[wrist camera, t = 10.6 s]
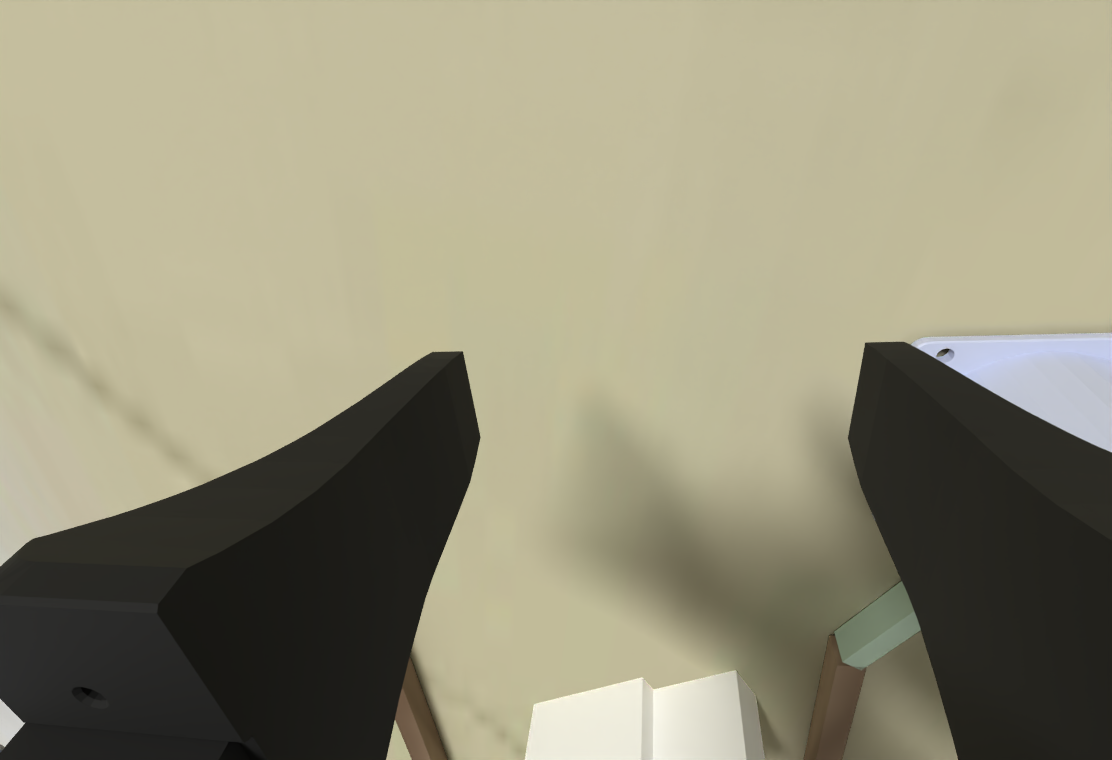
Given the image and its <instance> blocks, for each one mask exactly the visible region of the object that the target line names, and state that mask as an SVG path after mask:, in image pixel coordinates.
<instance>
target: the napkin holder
mask: <svg viewBox="0 0 1112 760" xmlns="http://www.w3.org/2000/svg"><path fill="white" fill-rule="evenodd" d="M525 760H765V756H764V749H763V742H762V734H761V727H760V720H759V713H758V706H757V699H756V695H755V694H754V693H753V691H752V690H751V689H750V688H749V686H748V685H747V684H746V682H745V681H744V680H743V678H742V677H741V676H740V675H739V673H738V672H737V671H736V670H734V671H730V672H726V673H722V674H717V675H713V676H709V677H705V678H700V679H696V680H692V681H688V682H684V683H679V684H675V685H671V686H667V687H662V688H658V689H654V690H653V688H652V687H651V686H650V685H649V684H648V683H647V682H646V681H645V679H644V678H643V677H642V678H638V679H634V680H630V681H626V682H622V683H618V684H614V685H610V686H606V687H602V688H598V689H593V690H589V691H585V692H581V693H577V694H573V695H569V696H565V697H561V698H557V699H553V700H549V701H545V702H541V703H537V704H534V708H533V714H532V720H531V726H530V732H529V738H528V743H527V749H526V755H525Z"/></svg>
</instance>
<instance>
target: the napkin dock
mask: <svg viewBox="0 0 1112 760" xmlns="http://www.w3.org/2000/svg"><path fill="white" fill-rule="evenodd" d="M920 630H921V629H920V626H919V623H918V620H917V617H916V614H915V612H914V609H913V607H912V604H911V601H910V599H909V596H908V594H907V592H906V589H905V587H904V585H903V582H902V581H901V582H899V583H898V584H897V585H895V586H894V587H893V588H891V589H890V590H889V591H888V592H886V593H885V594H884V595H882V596H881V597H880V598H878V599H877V600H876V601H874V602H873V603H872V604H870V605H869V606H868V607H866V608H865V609H864V610H862V611H861V612H860V613H858V614H857V615H856V616H854V617H853V618H852V619H850V620H849V621H848V622H846V623H845V624H844V625H842V626H841V627H840V628H838V629H837V630H836V631H834V633H835V635H829V639H828V643H827V648H826V653H825V658H824V663H823V668H822V673H821V677H820V682H819V687H818V692H817V697H816V702H815V707H814V711H813V716H812V721H811V726H810V731H809V736H808V741H807V745H806V750H805V755H804V760H842V758H843V754H844V750H845V746H846V743H847V739H848V735H849V731H850V728H851V724H852V720H853V716H854V713H855V709H856V705H857V701H858V698H859V694H860V690H861V687H862V683H863V679H864V675H865V672H866V668H867V666H869V665H870V664H872V663H873V662H875V661H876V660H878V659H879V658H881V657H882V656H884V655H885V654H886V653H888V652H889V651H891V650H892V649H894V648H895V647H897V646H898V645H900V644H901V643H903V642H904V641H906V640H907V639H909V638H910V637H911V636H913V635H914V634H916V633H917V632H919V631H920ZM395 720H396V723H397V725H398V727H399V730H400V732H401V734H402V737H403V739H404V742H405V744H406V746H407V749H408V751H409V753H410V756H411V758H412V760H448V759H447V757H446V754H445V751H444V748H443V746H442V743H441V740H440V737H439V735H438V732H437V729H436V726H435V724H434V721H433V718H432V715H431V713H430V710H429V707H428V704H427V702H426V699H425V696H424V693H423V691H422V688H421V685H420V682H419V680H418V677H417V674H416V671H415V669H414V666H413V663H412V661H411V658H409V662H408V666H407V670H406V674H405V678H404V682H403V686H402V690H401V694H400V698H399V702H398V707H397V712H396V716H395Z"/></svg>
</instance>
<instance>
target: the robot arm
mask: <svg viewBox="0 0 1112 760" xmlns="http://www.w3.org/2000/svg"><path fill="white" fill-rule="evenodd" d="M947 348H948V349H949V351H948V353H947V354H945V355H944V356H940V357H937V356H936V355H937V353H938V352H939V351H941V350H942V349H947ZM848 440H849V444H850V448H851V452H852V456H853V460H854V464H855V468H856V471H857V475H858V478H859V482H860V485H861V488H862V490H863V493H864V495H865V498H866V500H867V502H868V505H869V507H870V509H871V512H872V515H873V518H874V520H875V521H876V523H877V526H878V528H879V530H880V532H881V535H882V537H883V539H884V542H885V544H886V546H887V548H888V551H889V553H890V555H891V557H892V560H893V562H894V564H895V567H896V569H897V571H898V573H899V576H900V578H901V580H902V582H903V585H904V587H905V589H906V592H907V594H908V596H909V599H910V601H911V604H912V607H913V609H914V612H915V614H916V617H917V620H918V623H919V626H920V629H921V632H922V635H923V639H924V642H925V645H926V648H927V652H928V655H929V658H930V661H931V664H932V668H933V671H934V674H935V677H936V681H937V684H938V688H939V691H940V695H941V698H942V702H943V706H944V709H945V713H946V716H947V720H948V723H949V727H950V730H951V734H952V737H953V741H954V745H955V749H956V752H957V756H958V760H1112V333H1081V334H1038V335H994V336H950V337H925V338H920V339H918V340H916V341H914V342H913V343H912V344H911V345H910V344H908V343H905V342H873V343H865V348H864V353H863V359H862V364H861V370H860V375H859V381H858V386H857V392H856V397H855V403H854V408H853V414H852V419H851V425H850V430H849V435H848ZM479 442H480V433H479V428H478V423H477V418H476V413H475V408H474V404H473V399H472V394H471V389H470V384H469V379H468V374H467V370H466V365H465V360H464V355H463V351H461V352H432V353H430V354H428V355H426V356H425V357H423V358H421V359H420V360H418V361H417V362H415V363H414V364H412V365H411V366H409V367H408V368H406V369H405V370H403V371H402V372H401V373H399V374H398V375H396V376H395V377H393V378H392V379H391V380H389V381H388V382H386V383H385V384H383V385H382V386H381V387H379V388H378V389H376V390H375V391H373V392H372V393H370V394H369V395H368V396H366V397H365V398H363V399H362V400H360V401H359V402H357V403H356V404H354V405H353V406H351V407H350V408H348V409H346V410H345V411H343V412H342V413H340V414H339V415H337V416H335V417H334V418H332V419H331V420H329V421H328V422H326V423H324V424H323V425H321V426H320V427H318V428H317V429H315V430H313V431H312V432H310V433H308V434H306V435H305V436H303V437H301V438H299V439H298V440H296V441H294V442H292V443H290V444H288V445H286V446H284V447H283V448H281V449H279V450H277V451H275V452H273V453H271V454H269V455H267V456H265V457H263V458H261V459H259V460H257V461H255V462H253V463H250V464H248V465H246V466H244V467H241V468H239V469H237V470H235V471H232V472H230V473H228V474H225V475H223V476H221V477H219V478H216V479H214V480H212V481H210V482H207V483H205V484H203V485H200V486H198V487H195V488H193V489H190V490H187V491H185V492H182V493H179V494H177V495H174V496H171V497H169V498H166V499H163V500H160V501H157V502H155V503H152V504H149V505H146V506H143V507H140V508H137V509H134V510H131V511H128V512H125V513H122V514H119V515H116V516H112V517H109V518H105V519H102V520H98V521H95V522H92V523H88V524H85V525H81V526H78V527H74V528H71V529H67V530H64V531H60V532H57V533H53V534H50V535H46V536H42V537H38V538H34V539H32V540H31V541H29V542H28V543H26V544H25V545H24V546H23V547H22V548H21V549H20V550H18V551H17V552H16V553H15V554H14V555H13V556H12V557H11V558H9V559H8V560H7V561H6V562H5V563H4V564H3V565H2V566H0V699H1V700H2V701H3V702H4V703H5V704H6V705H7V706H8V707H9V708H10V709H11V710H12V711H13V712H14V713H15V714H16V715H17V716H18V717H19V718H20V719H21V720H22V721H23V722H24V723H25V724H24V725H23V727H22V728H21V729H20V730H19V731H18V732H17V734H16V735H15V736H14V737H13V738H12V739H11V741H10V742H9V743H8V744H7V745H6V747H4V746H2V745H0V760H386V757H387V752H388V748H389V743H390V739H391V734H392V730H393V725H394V721H395V716H396V712H397V707H398V702H399V698H400V694H401V690H402V686H403V682H404V678H405V674H406V670H407V666H408V662H409V658H410V653H411V649H412V645H413V642H414V638H415V634H416V631H417V627H418V623H419V620H420V616H421V612H422V609H423V605H424V602H425V598H426V595H427V592H428V589H429V586H430V583H431V580H432V578H433V575H434V572H435V570H436V567H437V565H438V562H439V560H440V557H441V555H442V552H443V550H444V547H445V545H446V542H447V540H448V537H449V535H450V532H451V530H452V527H453V525H454V522H455V519H456V517H457V514H458V512H459V509H460V507H461V504H462V502H463V499H464V496H465V494H466V491H467V488H468V486H469V483H470V480H471V476H472V472H473V468H474V464H475V460H476V455H477V451H478V446H479Z"/></svg>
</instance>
